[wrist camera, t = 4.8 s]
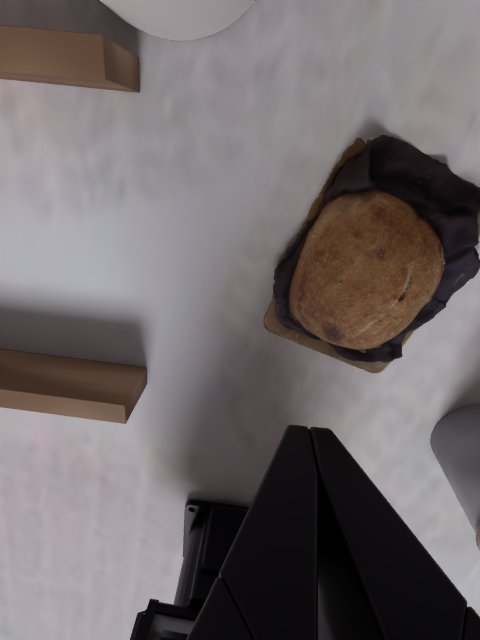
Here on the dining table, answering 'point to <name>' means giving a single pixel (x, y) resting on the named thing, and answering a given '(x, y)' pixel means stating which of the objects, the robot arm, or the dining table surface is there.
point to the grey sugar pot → (461, 458)
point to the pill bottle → (179, 16)
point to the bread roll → (376, 254)
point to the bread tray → (45, 370)
